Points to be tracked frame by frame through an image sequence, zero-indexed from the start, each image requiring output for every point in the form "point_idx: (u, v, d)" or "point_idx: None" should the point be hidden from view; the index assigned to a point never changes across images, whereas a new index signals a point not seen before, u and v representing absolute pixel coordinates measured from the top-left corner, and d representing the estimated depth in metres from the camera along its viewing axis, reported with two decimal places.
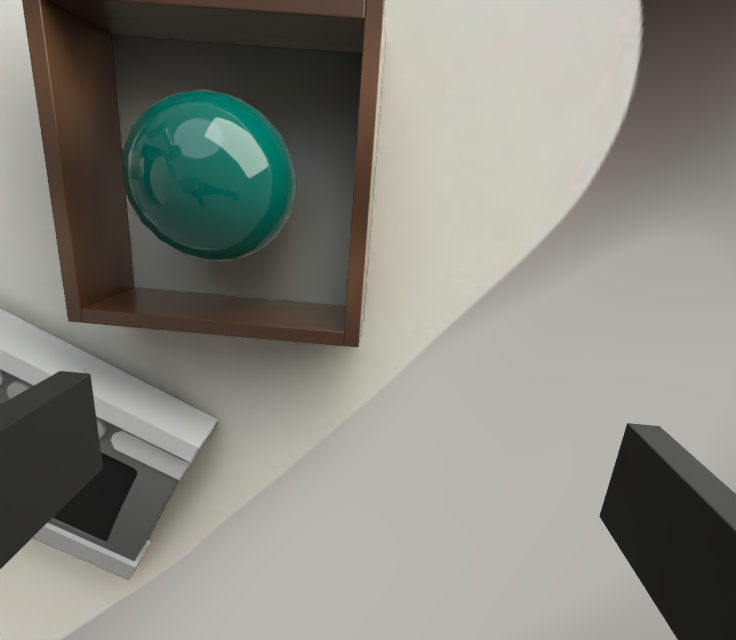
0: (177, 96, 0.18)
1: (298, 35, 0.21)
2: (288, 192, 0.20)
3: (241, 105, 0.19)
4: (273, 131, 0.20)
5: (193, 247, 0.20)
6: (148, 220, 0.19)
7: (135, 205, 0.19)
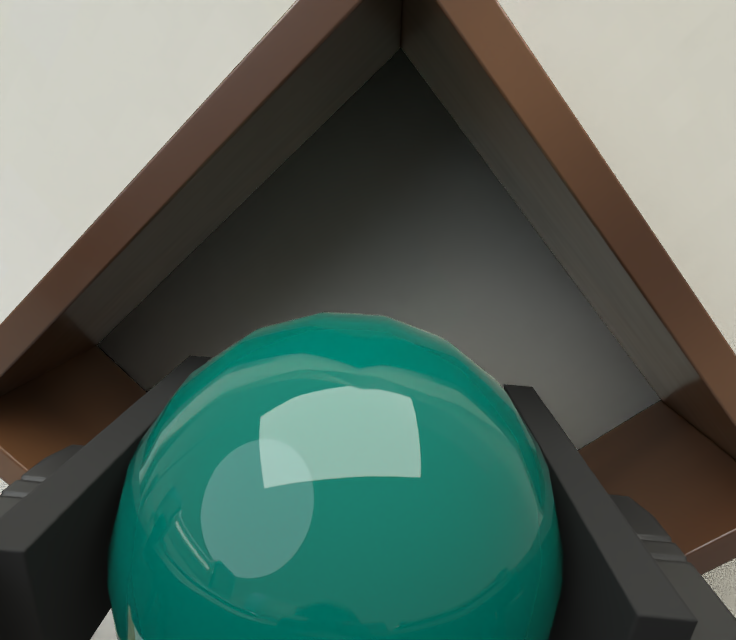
0: (135, 485, 0.06)
1: (296, 124, 0.11)
2: (524, 433, 0.07)
3: (276, 365, 0.06)
4: (385, 344, 0.07)
5: None
6: None
7: None
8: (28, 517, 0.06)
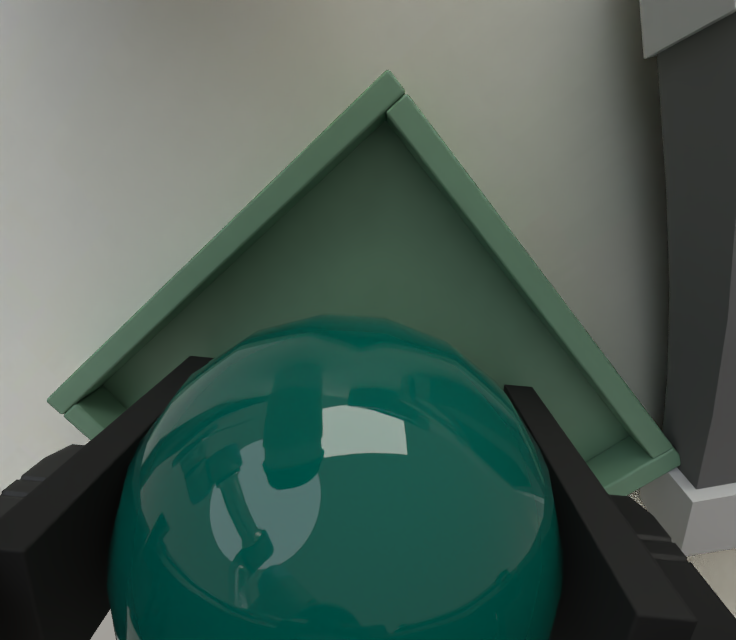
0: (134, 487, 0.06)
1: None
2: (525, 435, 0.07)
3: (275, 367, 0.06)
4: (385, 346, 0.07)
5: None
6: None
7: None
8: (28, 517, 0.06)
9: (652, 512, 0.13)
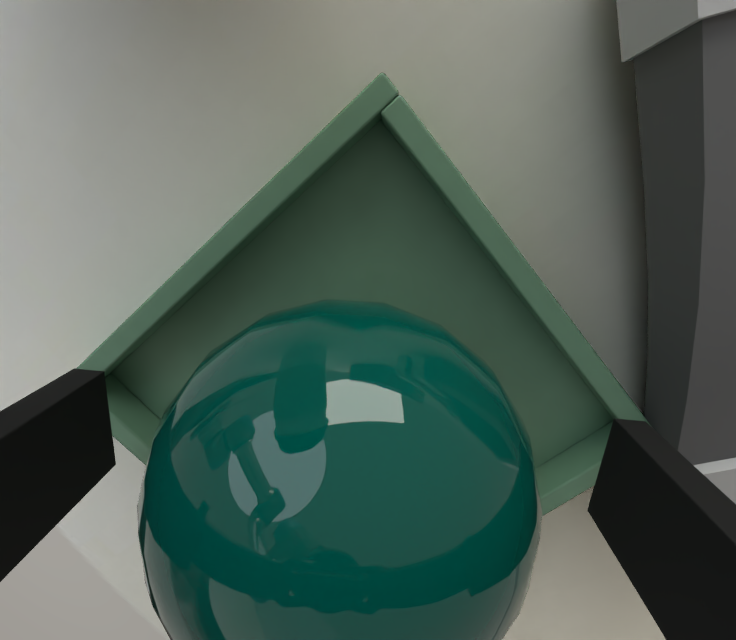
0: (163, 446, 0.07)
1: None
2: (508, 405, 0.08)
3: (287, 341, 0.07)
4: (384, 324, 0.07)
5: None
6: None
7: None
8: None
9: None
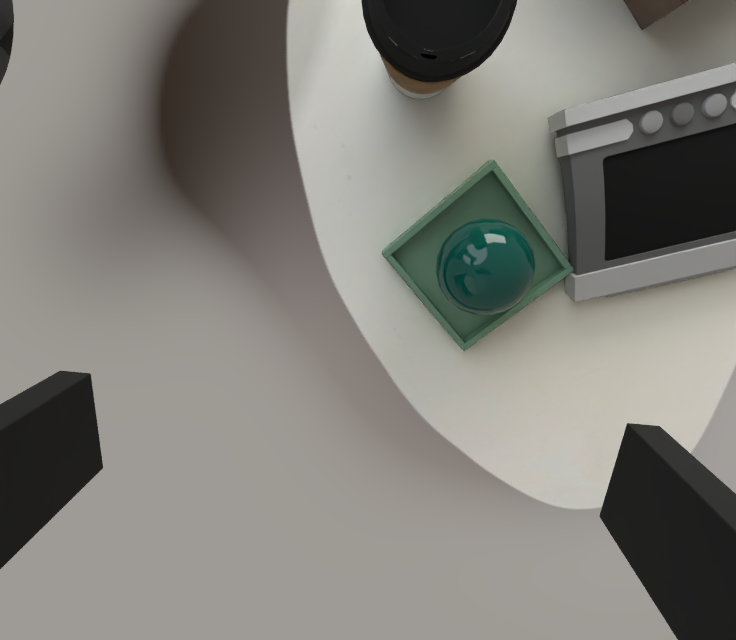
0: (455, 245, 0.33)
1: None
2: None
3: (481, 223, 0.33)
4: (500, 221, 0.33)
5: (513, 302, 0.33)
6: (486, 307, 0.33)
7: (474, 306, 0.34)
8: None
9: (568, 294, 0.39)
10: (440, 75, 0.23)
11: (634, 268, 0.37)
